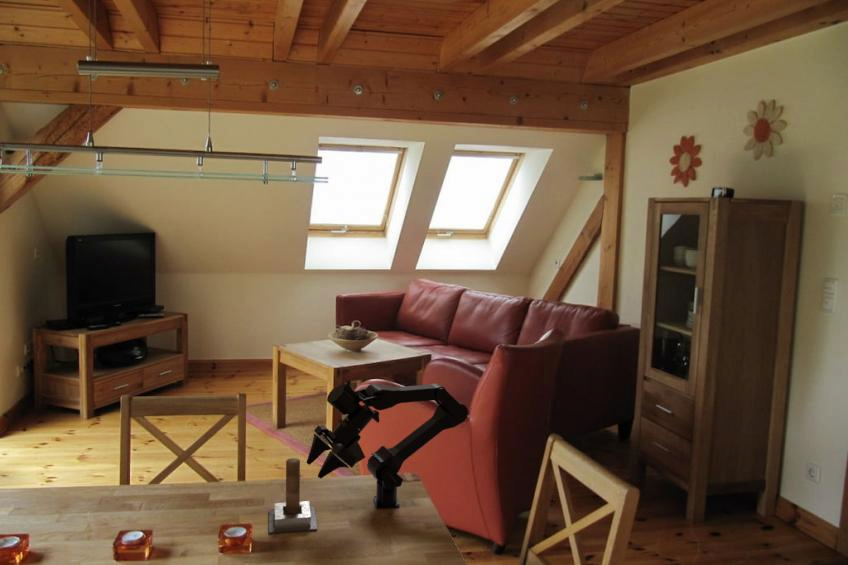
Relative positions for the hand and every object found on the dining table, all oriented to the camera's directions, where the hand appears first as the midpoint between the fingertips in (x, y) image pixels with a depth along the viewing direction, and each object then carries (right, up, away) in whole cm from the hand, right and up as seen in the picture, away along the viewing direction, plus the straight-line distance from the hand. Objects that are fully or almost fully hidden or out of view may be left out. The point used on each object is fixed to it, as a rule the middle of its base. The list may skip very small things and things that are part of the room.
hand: (313, 470), depth 184 cm
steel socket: (-5, -13, -1) cm, 14 cm away
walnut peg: (-5, -13, -1) cm, 14 cm away
